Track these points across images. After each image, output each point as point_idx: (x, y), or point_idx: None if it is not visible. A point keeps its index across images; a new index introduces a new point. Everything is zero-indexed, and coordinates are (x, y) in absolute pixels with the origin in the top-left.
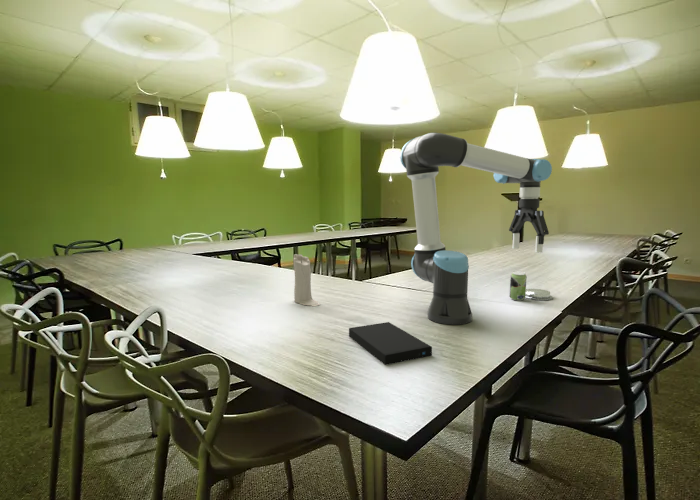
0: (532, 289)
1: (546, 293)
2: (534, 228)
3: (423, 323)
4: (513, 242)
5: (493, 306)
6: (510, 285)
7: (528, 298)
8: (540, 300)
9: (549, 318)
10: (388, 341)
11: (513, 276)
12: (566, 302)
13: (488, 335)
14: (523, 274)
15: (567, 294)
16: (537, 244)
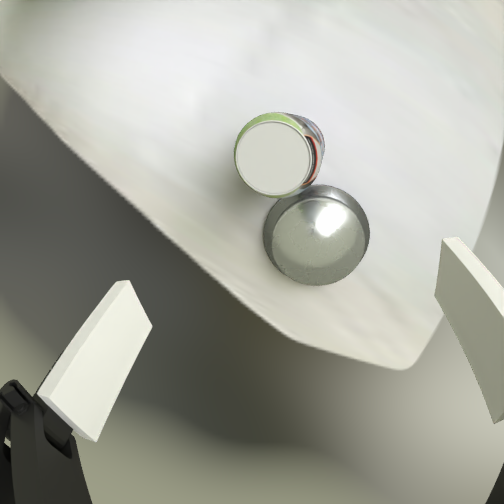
0: (351, 246)
1: (280, 259)
2: (38, 487)
3: None
4: (479, 276)
5: (196, 18)
6: (292, 114)
7: None
8: (266, 220)
9: (76, 145)
10: None
11: (260, 116)
12: (236, 284)
13: (12, 3)
14: (242, 170)
15: (328, 337)
16: (83, 333)
